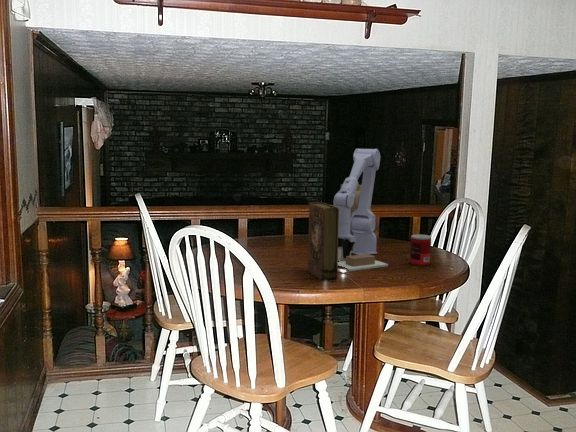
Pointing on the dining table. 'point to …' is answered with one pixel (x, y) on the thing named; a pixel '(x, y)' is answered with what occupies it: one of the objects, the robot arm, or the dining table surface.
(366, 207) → the robot arm
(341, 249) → the cream cube
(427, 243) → the canned food
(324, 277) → the book
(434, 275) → the dining table surface
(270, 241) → the dining table surface
